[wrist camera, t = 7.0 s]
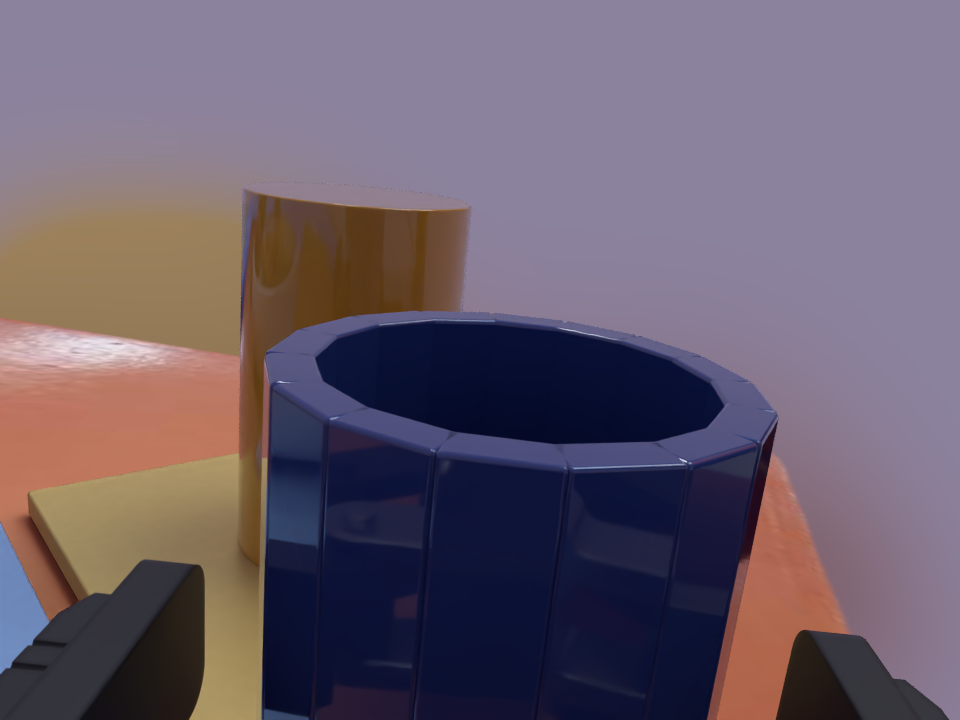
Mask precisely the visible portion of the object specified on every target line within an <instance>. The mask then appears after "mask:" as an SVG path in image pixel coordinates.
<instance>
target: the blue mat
mask: <svg viewBox="0 0 960 720" xmlns="http://www.w3.org/2000/svg"><path fill="white" fill-rule="evenodd" d="M48 624H49V620H48V618H47V616H46V614H45V612H44V610H43V607H42V605H41V603H40V601H39V599H38V597H37V595H36V593H35V591H34V589H33V587H32V585H31V583H30V581H29V579H28V577H27V575H26V573H25V571H24V569H23V567H22V565H21V563H20V561H19V559H18V557H17V555H16V553H15V551H14V549H13V547H12V545H11V543H10V541H9V539H8V537H7V535H6V533H5V531H4V529H3V527H2V524H1V522H0V674H1V673H2V672H3V671H4V670H5V669H6V668H10V667H11V665H12V661H13V660H14V659H15V658H16V657H17V656H18V655H19V654H20V653H21V652H22V651H23V650H24V649H25V648H26V647H27V646H28V645H32V643H33V639H34V638H35V637H36V636H37V635H38V634H39V633H40V632H41V631H42V630H43V629H44V628H45V627H46V626H47V625H48Z"/></svg>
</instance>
